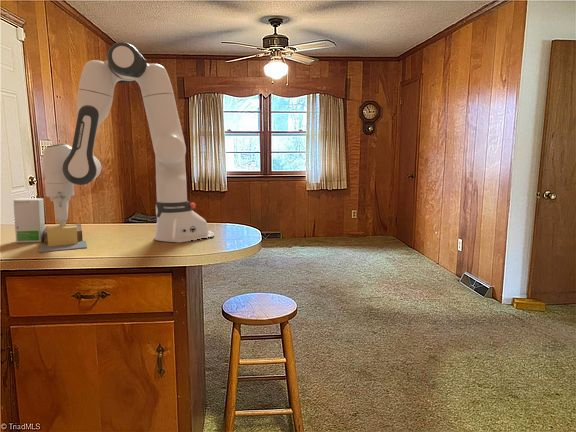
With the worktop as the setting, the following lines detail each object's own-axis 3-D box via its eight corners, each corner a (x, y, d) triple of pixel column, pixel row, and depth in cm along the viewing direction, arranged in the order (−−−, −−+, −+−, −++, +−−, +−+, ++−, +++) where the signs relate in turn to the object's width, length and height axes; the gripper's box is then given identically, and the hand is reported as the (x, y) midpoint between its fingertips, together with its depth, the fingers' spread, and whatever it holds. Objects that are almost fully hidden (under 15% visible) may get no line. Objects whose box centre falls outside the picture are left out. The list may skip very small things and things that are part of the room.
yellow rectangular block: (76, 225, 146) (76, 227, 144) (77, 242, 147) (77, 243, 145) (47, 228, 141) (46, 229, 140) (48, 244, 143) (48, 246, 141)
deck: (81, 233, 164) (80, 223, 163) (82, 241, 150) (81, 230, 149) (46, 236, 158) (45, 226, 158) (44, 245, 144) (43, 233, 144)
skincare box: (15, 243, 147) (11, 200, 144) (21, 239, 153) (17, 197, 150) (42, 242, 149) (38, 199, 146) (47, 238, 155) (43, 197, 153)
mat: (85, 241, 150) (85, 240, 150) (87, 248, 140) (87, 246, 140) (41, 245, 143) (41, 244, 143) (39, 252, 134) (39, 251, 134)
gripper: (70, 193, 136) (73, 234, 139) (70, 188, 154) (73, 224, 156) (48, 194, 133) (51, 235, 136) (50, 188, 151) (54, 225, 154)
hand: (63, 229), depth 146 cm, fingers closed
